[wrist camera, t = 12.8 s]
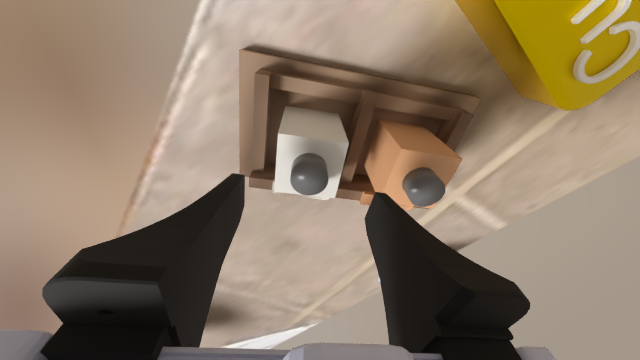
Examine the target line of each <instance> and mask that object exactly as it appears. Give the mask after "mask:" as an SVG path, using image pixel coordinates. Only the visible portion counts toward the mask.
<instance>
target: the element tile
mask: <svg viewBox="0 0 640 360" xmlns="http://www.w3.org/2000/svg"><path fill="white" fill-rule="evenodd" d="M455 1H456V2H457V4H458V5H459V7H460V8H461V10H462V11H463V13H464V14H465V16H466V17H467V19H468V20H469V21H470V23H471V24H472V26H473V27H474V29H475V30H476V32H477V33H478V35H479V36H480V38H481V39H482V40H483V42H484V43H485V45H486V46H487V48H488V49H489V51H490V52H491V54H492V55H493V56H494V58H495V59H496V61H497V62H498V64H499V65H500V67H501V68H502V70H503V71H504V72H505V74H506V75H507V77H508V78H509V80H510V81H511V83H512V84H513V86H514V87H515V89H516V90H517V91H518V93H519V94H520V95H522V96H523V97H526V98H528V99H531V100H535V101H538V102H541V103H544V104H547V105H550V106H553V107H556V108H559V109H563V110H566V111H570V110H577V109H580V108H582V107H585V106H587V105H589V104H591V103H593V102H594V101H596V100H597V99H599V98H600V97H601V96H603V95H604V94H606V93H607V92H608V91H610V90H611V89H613V88H614V87H615V86H617V85H618V84H619V83H621V82H622V81H624V80H625V79H626V78H628V77H629V76H631V75H632V74H633V73H635V72H636V71H637V70H639V69H640V0H455Z"/></svg>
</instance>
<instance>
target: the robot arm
mask: <svg viewBox="0 0 640 360" xmlns="http://www.w3.org/2000/svg"><path fill="white" fill-rule="evenodd" d="M244 189H245V175H241V174H231V175H230V176H229V177H227V178H226V179H225V180H224V181H222V182H221V183H220V184H219V185H217V186H216V187H215V188H213V189H212V190H211V191H209V192H208V193H207V194H205V195H204V196H203V197H201V198H200V199H198V200H197V201H195V202H194V203H192V204H191V205H189V206H187V207H186V208H184V209H182V210H180V211H179V212H177V213H175V214H173V215H171V216H169V217H167V218H165V219H163V220H161V221H158V222H156V223H154V224H152V225H150V226H147V227H145V228H143V229H140V230H138V231H135V232H132V233H130V234H127V235H124V236H122V237H119V238H116V239H113V240H110V241H107V242H103V243H100V244H97V245H94V246H91V247H88V248H84V249H82V250H80V251H79V252H78V253H77V254H76V255H75V256H74V257H73V258H72V259H71V260H70V261H69V262H68V263H67V264H66V265H65V266H64V267H63V268H62V269H61V270H60V271H59V272H58V273H57V274H56V275H54V277H53V278H52V279H50V280H49V281H48V282H47V283H46V285H45V286H44V287H43V293H42V295H43V298H44V300H45V302H46V303H47V305H48V306H49V307H50V308H51V309H52V310H53V312H54V313H55V314H56V315H57V316H58V317H59V319H60V320H61V321H62V322H63V325H62V326H61V327H60V328H59V329H58V331H57V332H56V333H55V334H54V335H53V334H51V333H49V332H45V331H35V330H5V329H1V330H0V360H556V359H555V357H554V356H553V355H552V353H551V352H550V351H549V349H548V348H545V347H519V348H514V346H513V345H512V343H511V342H510V340H512V339H513V335H512V334H511V332H510V331H509V329H508V328H509V327H510V326H511V325H513V324H514V323H516V322H517V321H518V320H519V319H521V318H522V317H523V316H524V315H525V314H526V313H527V312H528V310H529V309H530V302H529V301H528V299H527V298H526V296H525V295H524V294H523V293H522V292H521V290H520V289H519V288H518V287H517V285H516V284H515V283H514V282H512V281H510V280H508V279H506V278H504V277H502V276H500V275H497V274H495V273H493V272H491V271H489V270H487V269H485V268H484V267H482V266H480V265H478V264H476V263H474V262H473V261H471V260H469V259H467V258H466V257H464V256H462V255H461V254H459V253H458V252H457V251H455V250H453V249H451V248H450V247H448V246H447V245H446V244H444V243H443V242H441V241H440V240H439V239H437V238H436V237H435V236H433V235H432V234H431V233H429V232H428V231H427V230H426V229H424V228H423V227H422V226H421V225H420V224H419V223H417V222H416V221H415V220H414V219H413V218H412V217H411V216H410V215H409V214H407V213H406V212H405V211H404V210H403V209H402V208H401V207H400V206H399V205H398V204H397V203H396V202H395V201H394V200H393V199H392V198H391V197H390V196H388V195H387V194H386V193H381V192H375V194H374V196H373V199H372V202H371V204H370V207H369V209H368V212H367V214H366V217H365V224H366V231H367V236H368V239H369V243H370V246H371V249H372V253H373V256H374V259H375V263H376V266H377V269H378V273H379V278H378V282H379V283H381V288H382V293H383V299H384V306H385V312H386V320H387V327H388V335H389V345H379V344H347V343H346V344H344V343H311V344H304V345H301V346H298V347H296V348H293V349H292V350H273V349H272V350H271V349H235V348H199V346H200V342H201V338H202V334H203V330H204V326H205V323H206V319H207V315H208V312H209V308H210V304H211V301H212V297H213V294H214V290H215V287H216V283H217V280H218V277H219V273H220V270H221V267H222V264H223V261H224V258H225V256H226V253H227V251H228V249H229V246H230V244H231V242H232V239H233V237H234V234H235V232H236V230H237V227H238V225H239V222H240V219H241V216H242V212H243V208H244Z"/></svg>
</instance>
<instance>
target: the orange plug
mask: <svg viewBox="0 0 640 360" xmlns="http://www.w3.org/2000/svg"><path fill="white" fill-rule="evenodd" d="M461 161H462V158H461V157H460V156H459V155H457V154H456V153H455V152H454V151H453V150H452V149H450V148H449V147H448V146H447V145H446V144H444V143H443V142H442V141H441V140H440V139H439V138H437V137H436V136H435V135H434V134H433V133H431V132H430V131H429V130H428V129H427V128H425V127H421V126H415V125H410V124H404V123H399V122H393V121H388V120H382V119H378V121H377V124H376V127H375V130H374V133H373V136H372V139H371V142H370V145H369V148H368V151H367V154H366V157H365V159H364V162H363V164H364V166H365V169H366V171H367V173H368V176H369V178H370V181H371V183H372V186H373V188H374V190H375V192H381V193H386V194H387V195H388V196H390V197H391V198H392V199H393V200H394V201H395V202H396V203H397V204H400V205H408V206H416V207H424V208H432V209H433V208H434V206H435V204H436V203H437V202H438V201H439V200H440V199H441V198H442V197H443V195H444V193H445V188H446V186H447V184H448V183H449V181H450V179H451V178H452V176H453V174H454V173H455V171H456V169H457V168H458V166H459V164H460V163H461Z"/></svg>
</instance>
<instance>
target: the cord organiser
mask: <svg viewBox="0 0 640 360" xmlns="http://www.w3.org/2000/svg"><path fill="white" fill-rule="evenodd" d="M480 101H481V98H478V97H476V96H472V95H467V94H462V93H457V92H452V91H447V90H443V89H438V88H433V87H428V86H423V85H418V84H413V83H408V82H403V81H398V80H393V79H388V78H383V77H379V76H374V75H369V74H364V73H359V72H354V71H349V70H344V69H339V68H334V67H329V66H324V65H320V64H315V63H310V62H305V61H300V60H295V59H290V58H285V57H280V56H275V55H270V54H265V53H261V52H256V51H251V50H246V49H241V50H239V104H240V174H241V175H245V176H246V177H249V187H253V188H261V189H270V190H272V194H280V195H288V196H297V197H305V198H313V199H322V200H329V197H319V196H309V195H299V194H290V193H280V192H274V184H275V169H276V155H277V140H278V131H279V128H280V124H281V121H282V117H283V113H284V110H285V106H291V107H297V108H304V109H310V110H317V111H324V112H330V113H337V114H339V117H340V119H341V122H342V125H343V128H344V131H345V133H346V136H347V139H348V142H349V145H348V149H347V153H346V157H345V161H344V165H343V169H342V173H341V177H340V181H339V185H338V189H337V193H336V196H335V198H343V199H351V200H360V204H364V205H370V204H371V202H372V199H373V196H374V194H375V190H374V188H373V186H372V183H371V181H370V178H369V176H368V173H367V171H366V169H365V166H364V164H363V162H364V159H365V157H366V154H367V151H368V148H369V145H370V142H371V139H372V136H373V133H374V130H375V127H376V124H377V121H378V119H382V120H388V121H393V122H399V123H404V124H410V125H415V126H421V127H425V128H427V129H428V130H429V131H430V132H431V133H433V134H434V135H435V136H436V137H437V138H439V139H440V140H441V141H442V142H443V143H444V144H446V145H447V146H448V147H449V148H450V149H452V150H453V151H454V150H455V148H456V146H457V144H458V142H459V141H460V139H461V137H462V135H463V133H464V132H465V130H466V128H467V126H468V124H469V123H470V121H471V119H472V117H473V114H474V112H475V110H476V108H477V107H478V105H479V103H480ZM398 205H399V206H400V207H401V208H402V209H405V210H412V208H413V207H416V206H408V205H400V204H398ZM417 208H424V207H417ZM425 209H430V208H425Z"/></svg>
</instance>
